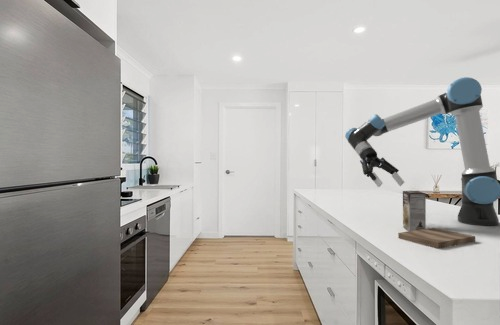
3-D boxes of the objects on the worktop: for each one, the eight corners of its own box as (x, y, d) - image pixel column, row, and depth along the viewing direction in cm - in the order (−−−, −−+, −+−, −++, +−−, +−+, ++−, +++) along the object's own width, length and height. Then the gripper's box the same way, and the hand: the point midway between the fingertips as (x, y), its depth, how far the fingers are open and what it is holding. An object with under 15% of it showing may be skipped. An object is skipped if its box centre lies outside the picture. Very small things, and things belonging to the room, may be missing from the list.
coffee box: (402, 227, 127) (401, 190, 127) (418, 228, 126) (418, 190, 126) (409, 232, 118) (409, 192, 118) (426, 233, 117) (426, 192, 117)
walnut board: (434, 232, 117) (433, 227, 117) (475, 241, 104) (475, 236, 104) (398, 238, 110) (398, 232, 110) (438, 248, 96) (437, 242, 96)
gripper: (380, 157, 153) (405, 188, 140) (342, 157, 143) (366, 191, 130) (388, 147, 148) (415, 178, 135) (350, 146, 138) (375, 179, 125)
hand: (391, 184), depth 132 cm, fingers open, 13 cm apart
